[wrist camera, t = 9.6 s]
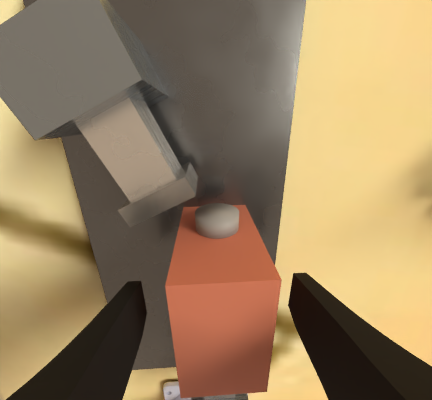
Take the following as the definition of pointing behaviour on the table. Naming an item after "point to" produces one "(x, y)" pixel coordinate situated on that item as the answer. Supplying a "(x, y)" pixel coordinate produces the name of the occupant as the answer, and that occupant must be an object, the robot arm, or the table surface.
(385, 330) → the table surface
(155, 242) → the stand
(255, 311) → the block
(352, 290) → the table surface
